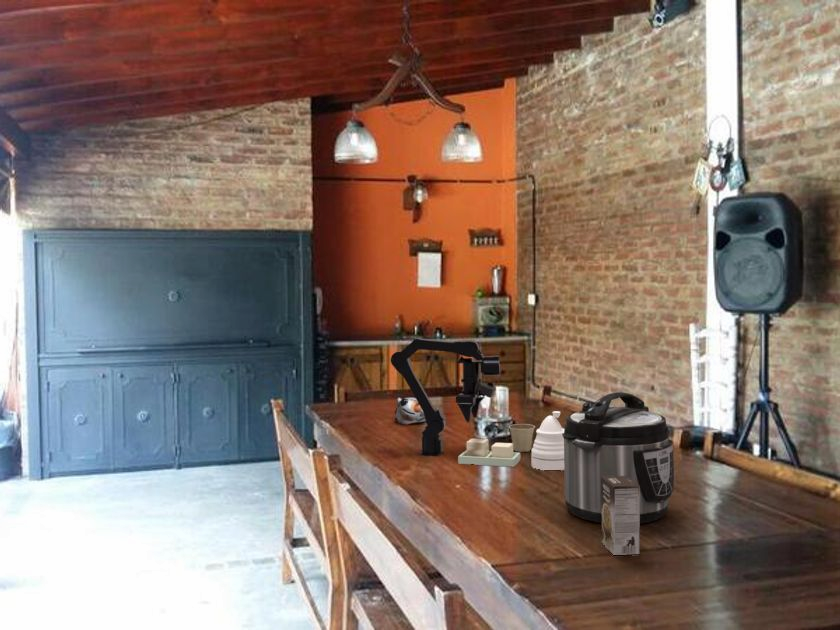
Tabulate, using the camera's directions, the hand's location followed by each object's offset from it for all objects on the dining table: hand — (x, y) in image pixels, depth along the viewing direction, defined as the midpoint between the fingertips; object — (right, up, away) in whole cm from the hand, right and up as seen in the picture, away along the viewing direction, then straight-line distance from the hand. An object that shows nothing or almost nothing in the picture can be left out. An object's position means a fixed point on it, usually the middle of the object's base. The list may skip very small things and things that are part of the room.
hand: (471, 419), depth 293 cm
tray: (+5, -13, -13) cm, 19 cm away
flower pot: (+18, -12, +4) cm, 22 cm away
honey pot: (+25, -13, -20) cm, 35 cm away
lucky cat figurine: (-21, -9, +62) cm, 66 cm away
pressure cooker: (+34, -16, -73) cm, 82 cm away
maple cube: (+1, -12, -11) cm, 16 cm away
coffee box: (+28, -17, -101) cm, 107 cm away
